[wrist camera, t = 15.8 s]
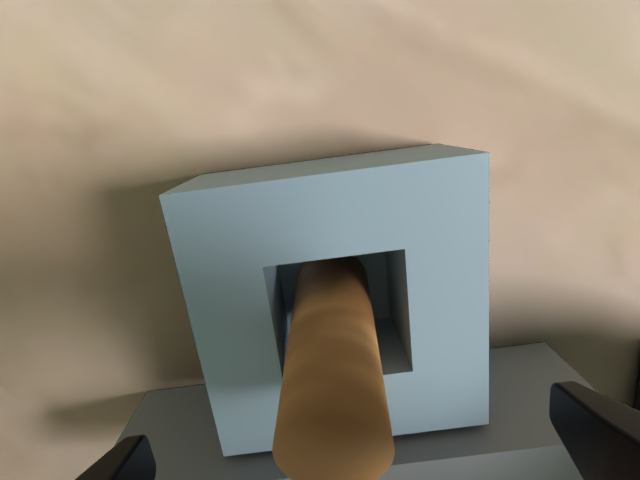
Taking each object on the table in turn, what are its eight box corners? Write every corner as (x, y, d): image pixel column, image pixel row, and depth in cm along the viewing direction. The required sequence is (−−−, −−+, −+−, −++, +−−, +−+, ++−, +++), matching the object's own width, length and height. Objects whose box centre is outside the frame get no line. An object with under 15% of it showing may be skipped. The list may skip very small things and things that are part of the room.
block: (438, 143, 16) (489, 152, 12) (445, 351, 19) (488, 424, 15) (200, 174, 16) (158, 195, 12) (243, 376, 19) (223, 456, 15)
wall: (544, 342, 19) (643, 434, 14) (543, 376, 20) (637, 478, 14) (146, 391, 20) (80, 503, 14) (156, 423, 20) (96, 544, 14)
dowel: (369, 250, 16) (401, 412, 9) (364, 310, 17) (388, 492, 10) (297, 248, 16) (270, 407, 9) (297, 308, 17) (273, 488, 10)
